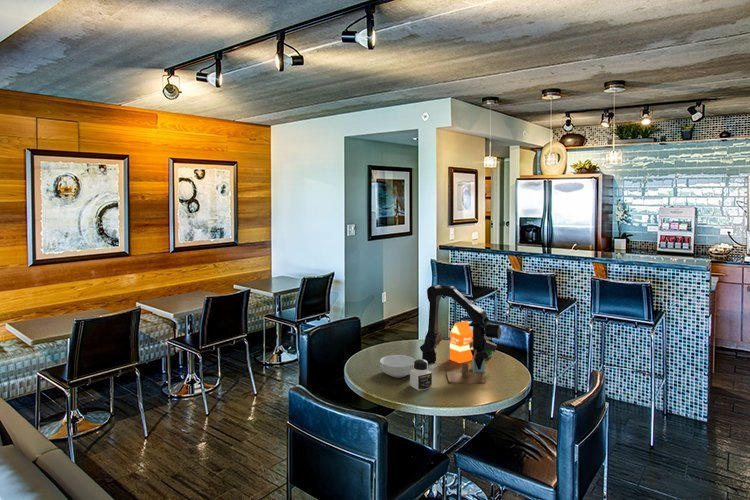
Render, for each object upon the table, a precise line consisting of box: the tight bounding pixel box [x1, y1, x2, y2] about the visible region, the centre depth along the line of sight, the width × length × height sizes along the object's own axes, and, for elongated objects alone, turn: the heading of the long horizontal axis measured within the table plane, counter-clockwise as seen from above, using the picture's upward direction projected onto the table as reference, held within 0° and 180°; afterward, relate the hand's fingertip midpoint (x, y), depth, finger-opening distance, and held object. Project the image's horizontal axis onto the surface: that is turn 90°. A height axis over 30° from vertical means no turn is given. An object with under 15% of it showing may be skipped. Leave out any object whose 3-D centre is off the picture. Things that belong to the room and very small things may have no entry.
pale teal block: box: [471, 355, 486, 373], centre depth 240 cm, size 5×5×7 cm
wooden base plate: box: [445, 362, 486, 385], centre depth 230 cm, size 16×12×7 cm
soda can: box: [483, 335, 493, 359], centre depth 261 cm, size 8×8×12 cm
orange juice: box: [449, 320, 473, 364], centre depth 256 cm, size 8×9×20 cm
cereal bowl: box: [379, 354, 416, 379], centre depth 236 cm, size 17×17×7 cm
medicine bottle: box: [409, 358, 433, 392], centre depth 220 cm, size 7×7×12 cm
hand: (478, 367), depth 241 cm, fingers closed on pale teal block, 5 cm apart
